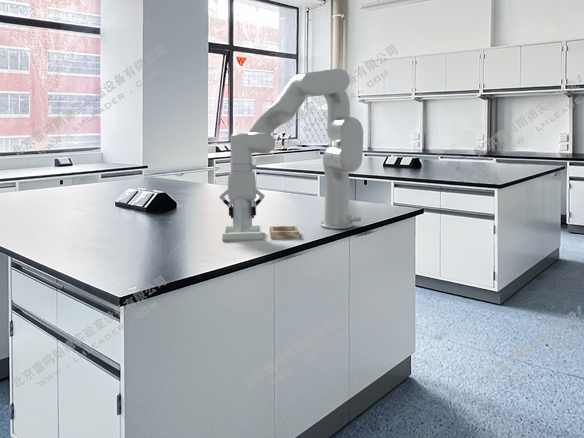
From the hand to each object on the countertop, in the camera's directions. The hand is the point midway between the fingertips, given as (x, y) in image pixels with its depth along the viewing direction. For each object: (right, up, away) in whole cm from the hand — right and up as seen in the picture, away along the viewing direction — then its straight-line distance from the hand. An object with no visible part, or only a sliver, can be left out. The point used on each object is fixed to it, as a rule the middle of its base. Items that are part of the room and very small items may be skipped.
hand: (242, 217), depth 191 cm
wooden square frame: (+15, -7, +3) cm, 17 cm away
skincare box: (0, -5, +1) cm, 5 cm away
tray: (0, -7, +1) cm, 7 cm away
